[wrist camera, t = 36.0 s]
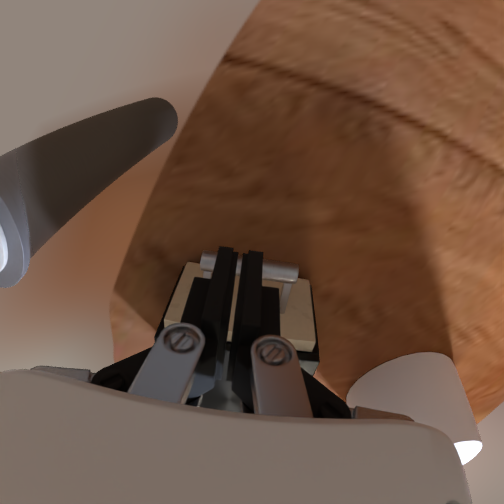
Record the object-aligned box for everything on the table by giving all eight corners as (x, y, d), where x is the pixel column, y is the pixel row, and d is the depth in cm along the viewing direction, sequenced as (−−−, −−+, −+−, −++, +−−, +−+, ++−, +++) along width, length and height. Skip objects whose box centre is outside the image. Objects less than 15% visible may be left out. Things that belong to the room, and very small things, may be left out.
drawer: (188, 217, 27) (161, 270, 21) (320, 237, 27) (333, 295, 21) (187, 351, 36) (172, 405, 30) (282, 365, 37) (281, 421, 30)
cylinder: (385, 426, 47) (401, 569, 23) (321, 398, 42) (327, 586, 18) (469, 376, 39) (513, 530, 15) (424, 333, 34) (483, 554, 10)
